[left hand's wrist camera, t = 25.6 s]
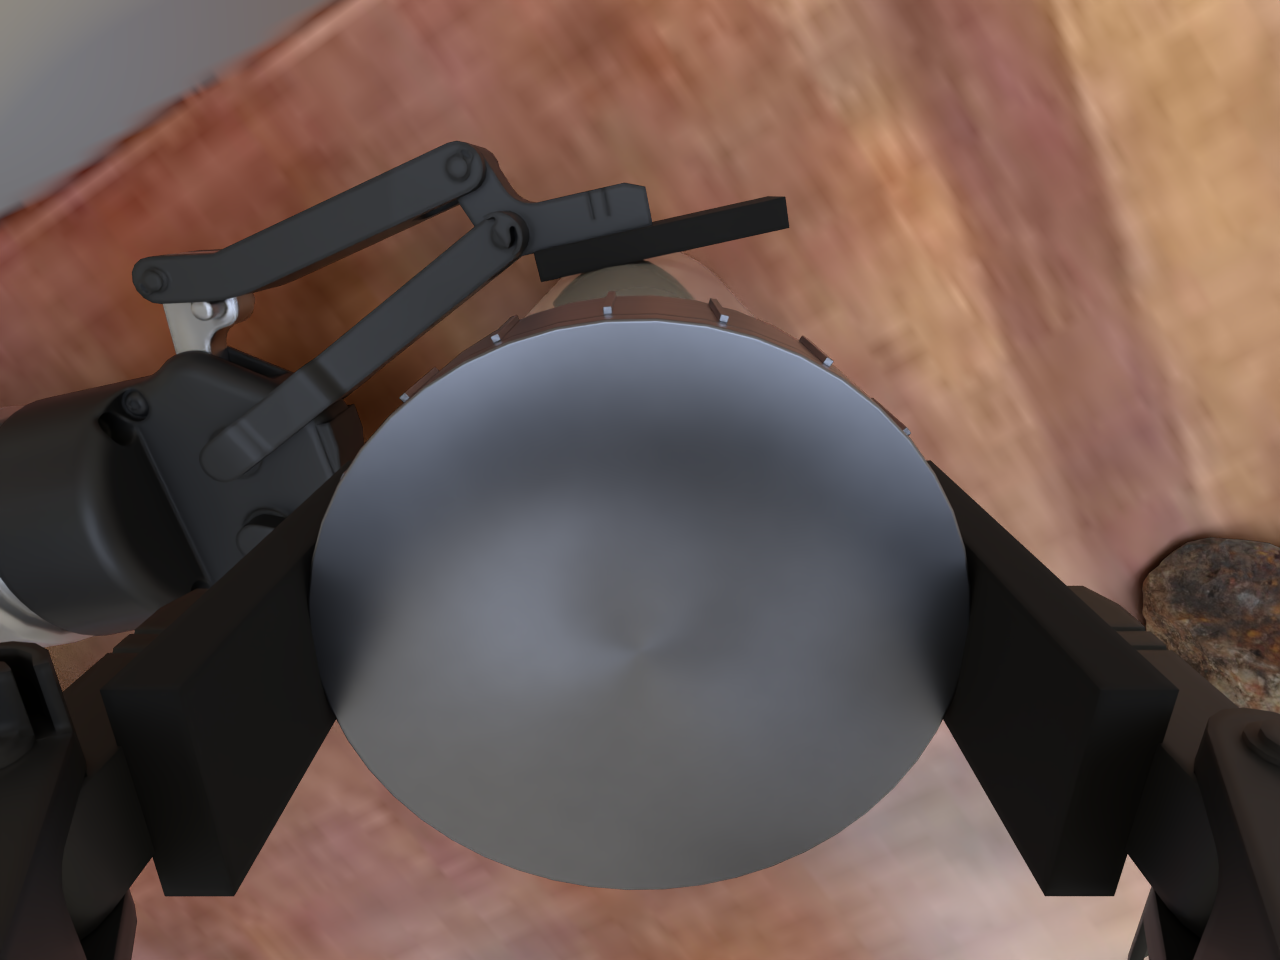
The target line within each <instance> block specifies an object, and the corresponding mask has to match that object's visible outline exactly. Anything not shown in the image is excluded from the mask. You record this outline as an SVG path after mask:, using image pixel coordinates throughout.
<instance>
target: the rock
mask: <svg viewBox="0 0 1280 960" xmlns="http://www.w3.org/2000/svg"><path fill="white" fill-rule="evenodd" d="M1142 591H1143V611H1142V613H1143V616H1144V618H1145V619H1146V631H1150V632H1152V633H1153V634H1154V635H1155V636H1156V637H1157V638H1159V639H1160V640H1161V641H1162V642H1163V643H1164V644H1166V645H1167V647H1166V648H1167V650H1173V651H1174V652H1175V653H1176V654H1177V655H1178V656H1180V657H1181V658H1182V659H1183V660H1184V661H1185V662H1187V663H1188V664H1189V665H1190V666H1191V667H1192V668H1194V669H1195V670H1196V671H1197V672H1198V673H1199V674H1201V675H1202V676H1203V677H1204V678H1205V679H1206V680H1208V681H1209V682H1210V683H1211V684H1212V685H1213V686H1215V687H1216V688H1217V689H1218V690H1219V691H1220V692H1221V693H1223V694H1224V695H1225V696H1226V697H1227V698H1228V699H1230V700H1231V701H1232V702H1233V703H1234V704H1235V705H1237V706H1238V707H1239V708H1243V707H1244V708H1251V709H1258V710H1265V711H1272V712H1275V713H1279V714H1280V548H1279V547H1277V546H1274V545H1272V544H1270V543H1264V542H1257V541H1249V540H1238V539H1224V538H1212V537H1210V538H1205V539H1200V540H1195V541H1191V542H1187V543H1185V544H1184V545H1182V546H1181V547H1179V548H1178V549H1176V550H1175V551H1173V552H1172V553H1171V554H1170V555H1168V556H1167V557H1166V558H1165V559H1164V560H1163V561H1162V562H1161V563H1160V565H1159V566H1158V567H1156V568H1155V569H1154V570H1153V571H1151V572H1150V573H1149V574H1148V576H1147V577H1146V579H1145V580H1144V582H1143V588H1142Z"/></svg>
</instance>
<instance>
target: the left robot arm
mask: <svg viewBox="0 0 1280 960" xmlns="http://www.w3.org/2000/svg"><path fill="white" fill-rule="evenodd" d="M351 463H352V461H348V462H346V463H345V464H344V465H343V466H342V467H341V468H340V469H339V470H338V471H337V472H336V473H335V474H333V475H332V476H331V477H330V478H329V479H328V480H327V481H326V482H325V483H324V484H323V485H321V486H320V487H319V488H318V489H317V490H316V491H315V492H314V493H313V494H312V495H311V496H310V497H308V498H307V499H306V500H305V501H304V502H303V503H302V504H301V505H300V506H299V507H298V508H296V509H295V510H294V511H293V512H292V513H291V514H290V515H289V516H288V517H287V518H286V519H285V520H283V521H282V522H281V523H280V524H279V525H278V526H277V527H276V528H275V529H274V530H273V531H271V532H270V533H269V534H268V535H267V536H266V537H265V538H264V539H263V540H262V541H261V542H260V543H258V544H257V545H256V546H255V547H254V548H253V549H252V550H251V551H250V552H249V553H248V554H247V555H245V556H244V557H243V558H242V559H241V560H240V561H239V562H238V563H237V564H236V565H235V566H233V567H232V568H231V569H230V570H229V571H228V572H227V573H226V574H225V575H224V576H223V577H222V578H220V579H219V580H218V581H217V582H216V583H215V584H214V585H213V586H212V587H211V588H210V589H195V590H193V591H191V592H189V593H187V594H185V595H183V596H182V597H180V598H178V599H176V600H174V601H172V602H170V603H168V604H166V605H164V606H162V607H160V608H159V609H158V610H157V611H156V612H155V613H153V614H152V615H151V616H150V617H149V618H148V619H147V620H145V621H144V622H143V623H142V624H141V625H140V626H138V627H137V628H136V629H135V633H134V634H129V635H128V636H127V637H126V638H125V639H123V640H122V641H121V642H120V643H119V644H118V645H116V646H115V647H114V648H113V653H107V654H106V655H105V656H104V657H103V658H101V659H100V660H99V661H98V662H97V663H96V664H95V665H93V666H92V667H91V668H90V669H89V670H88V671H86V672H85V673H84V674H83V675H82V676H81V677H80V678H78V679H77V680H76V681H75V682H74V683H73V684H71V685H70V686H69V687H68V688H67V689H66V690H65V691H63V692H62V690H61V687H60V684H59V681H58V678H57V675H56V672H55V669H54V666H53V663H52V660H51V657H50V654H49V651H48V650H47V649H45V648H43V647H42V646H40V645H38V644H36V643H31V642H18V641H9V642H1V643H0V960H131V958H132V951H133V945H134V938H135V931H136V925H137V917H136V911H135V904H134V901H133V899H132V896H131V893H130V890H129V888H130V886H131V885H132V884H133V882H134V881H135V880H136V878H137V877H138V876H139V874H140V873H141V871H142V870H143V869H144V867H145V866H146V865H147V863H148V862H149V861H150V859H151V858H152V857H153V860H154V863H155V866H156V870H157V873H158V876H159V879H160V882H161V885H162V888H163V892H164V895H165V896H234V895H235V894H236V892H237V890H238V889H239V887H240V885H241V883H242V882H243V880H244V878H245V876H246V875H247V873H248V871H249V869H250V868H251V866H252V864H253V862H254V861H255V859H256V857H257V856H258V854H259V852H260V850H261V849H262V847H263V845H264V843H265V842H266V840H267V838H268V836H269V835H270V833H271V831H272V829H273V828H274V826H275V824H276V823H277V821H278V819H279V817H280V816H281V814H282V812H283V810H284V809H285V807H286V805H287V803H288V802H289V800H290V798H291V797H292V795H293V793H294V791H295V790H296V788H297V786H298V784H299V783H300V781H301V779H302V777H303V776H304V774H305V772H306V770H307V769H308V767H309V765H310V764H311V762H312V760H313V758H314V757H315V755H316V753H317V751H318V750H319V748H320V746H321V744H322V743H323V741H324V739H325V737H326V736H327V734H328V732H329V731H330V729H331V727H332V725H333V724H334V722H335V720H336V717H335V716H334V714H333V712H332V710H331V708H330V705H329V703H328V700H327V697H326V695H325V692H324V689H323V686H322V682H321V678H320V673H319V668H318V662H317V657H316V652H315V646H314V641H313V636H312V630H311V624H310V618H309V610H308V592H309V582H310V572H311V561H312V557H313V553H314V549H315V545H316V541H317V537H318V534H319V530H320V526H321V522H322V520H323V517H324V515H325V513H326V511H327V508H328V506H329V504H330V501H331V499H332V497H333V494H334V492H335V490H336V487H337V485H338V483H339V482H340V478H341V476H342V474H343V473H344V472H345V471H346V470H347V469H348V468H349V466H350V464H351ZM927 463H928V464H929V465H930V467H931V468H932V470H933V471H934V473H935V474H936V476H937V478H938V480H939V482H940V484H941V486H942V488H943V491H944V493H945V495H946V497H947V499H948V501H949V503H950V505H951V507H952V509H953V511H954V514H955V517H956V521H957V524H958V527H959V530H960V534H961V537H962V540H963V543H964V546H965V551H966V558H967V565H968V571H969V578H970V585H971V610H970V619H969V626H968V631H967V636H966V642H965V647H964V653H963V658H962V663H961V669H960V674H959V678H958V683H957V687H956V690H955V693H954V697H953V699H952V701H951V703H950V705H949V707H948V709H947V711H946V713H945V716H944V718H943V720H944V721H945V723H946V725H947V727H948V728H949V730H950V732H951V734H952V735H953V737H954V739H955V741H956V742H957V744H958V746H959V748H960V749H961V751H962V753H963V754H964V756H965V758H966V760H967V761H968V763H969V765H970V767H971V768H972V770H973V772H974V774H975V775H976V777H977V779H978V781H979V782H980V784H981V786H982V787H983V789H984V791H985V793H986V794H987V796H988V798H989V800H990V801H991V803H992V805H993V807H994V808H995V810H996V812H997V814H998V815H999V817H1000V819H1001V820H1002V822H1003V824H1004V826H1005V827H1006V829H1007V831H1008V833H1009V834H1010V836H1011V838H1012V840H1013V841H1014V843H1015V845H1016V847H1017V848H1018V850H1019V852H1020V853H1021V855H1022V857H1023V859H1024V860H1025V862H1026V864H1027V866H1028V867H1029V869H1030V871H1031V873H1032V874H1033V876H1034V878H1035V880H1036V881H1037V883H1038V885H1039V886H1040V888H1041V890H1042V892H1043V893H1044V895H1045V896H1114V895H1115V892H1116V889H1117V885H1118V882H1119V879H1120V876H1121V873H1122V870H1123V866H1124V863H1125V860H1126V857H1127V854H1128V855H1129V856H1130V858H1131V859H1132V860H1133V862H1134V863H1135V864H1136V866H1137V867H1138V868H1139V870H1140V871H1141V872H1142V874H1143V875H1144V877H1145V878H1146V879H1147V881H1148V882H1149V883H1150V885H1151V886H1152V887H1151V890H1150V893H1149V896H1148V898H1147V901H1146V904H1145V907H1144V910H1143V913H1142V916H1141V919H1140V922H1139V925H1138V928H1137V931H1136V934H1135V937H1134V940H1133V943H1132V946H1131V949H1130V951H1129V955H1128V960H1144V958H1145V957H1147V956H1149V960H1280V714H1279V713H1275V712H1272V711H1265V710H1258V709H1251V708H1244V707H1243V708H1239V707H1238V706H1237V705H1235V704H1234V703H1233V702H1232V701H1231V700H1230V699H1228V698H1227V697H1226V696H1225V695H1224V694H1223V693H1221V692H1220V691H1219V690H1218V689H1217V688H1216V687H1215V686H1213V685H1212V684H1211V683H1210V682H1209V681H1208V680H1206V679H1205V678H1204V677H1203V676H1202V675H1201V674H1199V673H1198V672H1197V671H1196V670H1195V669H1194V668H1192V667H1191V666H1190V665H1189V664H1188V663H1187V662H1185V661H1184V660H1183V659H1182V658H1181V657H1180V656H1178V655H1177V654H1176V653H1175V652H1174V651H1173V650H1167V648H1166V647H1167V645H1166V644H1164V643H1163V642H1162V641H1161V640H1160V639H1159V638H1157V637H1156V636H1155V635H1154V634H1153V633H1152V632H1150V631H1145V626H1144V625H1142V624H1141V623H1140V622H1139V621H1138V620H1137V619H1135V618H1134V617H1133V616H1132V615H1131V614H1130V613H1128V612H1127V611H1126V610H1125V609H1124V608H1123V607H1121V606H1120V605H1119V604H1117V603H1115V602H1113V601H1111V600H1109V599H1107V598H1105V597H1103V596H1101V595H1100V594H1098V593H1096V592H1094V591H1092V590H1090V589H1088V588H1086V587H1084V586H1066V585H1065V584H1064V583H1063V582H1062V581H1061V580H1060V579H1059V578H1058V577H1057V576H1055V575H1054V574H1053V573H1052V572H1051V571H1050V570H1049V569H1048V568H1047V567H1046V566H1045V565H1043V564H1042V563H1041V562H1040V561H1039V560H1038V559H1037V558H1036V557H1035V556H1034V555H1033V554H1032V553H1030V552H1029V551H1028V550H1027V549H1026V548H1025V547H1024V546H1023V545H1022V544H1021V543H1020V542H1019V541H1017V540H1016V539H1015V538H1014V537H1013V536H1012V535H1011V534H1010V533H1009V532H1008V531H1007V530H1005V529H1004V528H1003V527H1002V526H1001V525H1000V524H999V523H998V522H997V521H996V520H995V519H994V518H992V517H991V516H990V515H989V514H988V513H987V512H986V511H985V510H984V509H983V508H982V507H981V506H979V505H978V504H977V503H976V502H975V501H974V500H973V499H972V498H971V497H970V496H969V495H967V494H966V493H965V492H964V491H963V490H962V489H961V488H960V487H959V486H958V485H957V484H956V483H954V482H953V481H952V480H951V479H950V478H949V477H948V476H947V475H946V474H945V473H944V472H943V471H941V470H940V469H939V468H938V467H937V466H936V465H935V464H934V463H933V462H932V461H927Z"/></svg>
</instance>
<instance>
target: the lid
mask: <svg viewBox="0 0 1280 960" xmlns="http://www.w3.org/2000/svg"><path fill="white" fill-rule="evenodd" d="M832 363H833V360H832V359H831V358H830V357H828V356H827V355H826V354H825V353H824V352H823V351H821V350H820V349H819V348H818V347H817V346H816V345H815V344H813V343H812V342H811V341H810V340H809V339H807V338H806V337H804V336H802V337H801V338H800V340H798V339H796V338H794V337H792V336H791V335H789V334H787V333H785V332H784V331H782V330H780V329H778V328H777V327H775V326H773V325H771V324H768V323H766V322H763V321H761V320H758V319H756V318H753V317H751V316H749V315H746V314H744V313H741V312H739V311H736V310H733V309H729V308H725V307H722V306H721V304H720V303H719V302H718V300H717V299H713V298H710V300H709V303H705V302H701V301H697V300H690V299H681V298H673V297H664V296H655V295H648V296H616V292H615V291H608V293H607V296H606V297H604V298H598V299H591V300H585V301H579V302H572V303H568V304H565V305H562V306H558V307H555V308H552V309H548V310H545V311H542V312H538V313H535V314H532V315H529V316H527V317H525V318H523V319H521V320H519V318H518V316H517V315H515V316H513V317H510V318H509V319H508V320H507V321H506V322H505V323H504V324H503V325H502V326H501V327H500V328H499V329H498V330H496V331H494V332H493V333H491V334H490V335H488V336H487V337H485V338H483V339H482V340H480V341H479V342H477V343H476V344H474V345H472V346H471V347H469V348H468V349H466V350H465V351H463V352H461V353H460V354H459V355H458V356H457V357H456V358H454V359H453V360H452V361H451V362H450V363H449V364H447V365H446V366H445V367H444V368H443V369H442V370H440V371H439V370H438V369H437V368H436V367H434V368H433V369H432V370H431V371H429V372H428V373H427V374H426V375H425V376H424V377H422V378H421V379H420V380H419V381H418V382H416V383H415V384H414V385H413V386H412V387H411V388H409V389H408V390H407V391H406V392H405V393H404V394H402V395H401V396H400V397H399V398H400V399H401V400H402V401H403V402H404V403H403V404H402V405H401V406H400V407H398V408H397V409H396V410H395V411H394V412H393V413H392V414H391V415H389V417H388V418H387V419H386V420H385V421H384V422H383V423H382V425H381V426H380V427H379V428H378V429H377V430H376V431H375V433H374V434H373V435H372V436H371V437H370V438H369V440H368V441H367V442H366V443H365V444H364V445H363V446H362V448H361V449H360V450H359V452H358V453H357V455H356V457H355V458H354V460H353V461H352V463H351V464H350V466H349V468H348V469H347V470H346V471H345V472H344V473H343V474H342V476H341V478H340V482H339V483H338V485H337V487H336V490H335V492H334V494H333V497H332V499H331V501H330V504H329V506H328V508H327V511H326V513H325V515H324V517H323V520H322V522H321V526H320V530H319V534H318V537H317V541H316V545H315V549H314V553H313V557H312V561H311V572H310V582H309V592H308V610H309V618H310V624H311V630H312V636H313V641H314V646H315V652H316V657H317V662H318V668H319V673H320V678H321V682H322V686H323V689H324V692H325V695H326V697H327V700H328V703H329V705H330V708H331V710H332V712H333V714H334V716H335V717H336V719H337V721H338V723H339V725H340V727H341V729H342V730H343V732H344V734H345V736H346V738H347V740H348V741H349V743H350V744H351V745H352V747H353V748H354V750H355V751H356V752H357V754H358V755H359V756H360V758H361V759H362V761H363V762H364V763H365V765H366V766H367V768H368V769H369V770H370V771H371V772H372V773H373V774H374V775H375V777H376V778H377V779H378V780H379V781H380V782H381V783H382V784H383V785H384V786H385V787H386V788H387V789H388V791H389V792H390V793H391V794H392V795H393V796H394V797H395V798H397V799H398V800H399V801H400V802H401V803H402V804H404V805H405V806H406V807H407V808H408V809H410V810H411V811H412V812H413V813H414V814H415V815H417V816H418V817H419V818H420V819H421V820H423V821H424V822H426V823H427V824H429V825H430V826H432V827H433V828H435V829H436V830H438V831H439V832H441V833H442V834H444V835H445V836H447V837H448V838H450V839H451V840H453V841H455V842H457V843H459V844H461V845H463V846H465V847H467V848H468V849H470V850H472V851H474V852H476V853H478V854H480V855H482V856H484V857H486V858H489V859H491V860H494V861H496V862H499V863H501V864H504V865H506V866H509V867H511V868H514V869H517V870H519V871H523V872H526V873H530V874H533V875H537V876H540V877H544V878H548V879H551V880H555V881H561V882H566V883H572V884H577V885H583V886H588V887H599V888H611V889H623V890H646V889H670V888H679V887H688V886H697V885H704V884H708V883H713V882H718V881H722V880H727V879H732V878H737V877H740V876H743V875H746V874H749V873H752V872H756V871H759V870H762V869H765V868H768V867H771V866H774V865H776V864H778V863H781V862H783V861H785V860H788V859H790V858H792V857H795V856H797V855H799V854H801V853H804V852H806V851H808V850H809V849H811V848H813V847H815V846H817V845H818V844H820V843H822V842H824V841H825V840H827V839H829V838H831V837H832V836H834V835H836V834H838V833H839V832H840V831H842V830H843V829H845V828H846V827H847V826H849V825H850V824H852V823H853V822H854V821H856V820H857V819H858V818H860V817H861V816H863V815H864V814H865V813H867V812H868V811H869V810H870V809H871V808H872V807H873V806H875V805H876V804H877V803H878V802H879V801H880V800H881V799H882V798H883V797H884V796H885V795H887V794H888V793H889V792H890V791H891V790H892V789H893V788H894V787H895V786H896V785H897V784H898V782H899V781H900V780H901V779H902V778H903V777H904V775H905V774H906V773H907V772H908V771H909V770H910V769H911V767H912V766H913V765H914V764H915V763H916V762H917V760H918V759H919V757H920V756H921V754H922V753H923V751H924V750H925V748H926V747H927V745H928V744H929V742H930V741H931V739H932V738H933V736H934V735H935V733H936V732H937V730H938V728H939V726H940V724H941V722H942V720H943V718H944V716H945V713H946V711H947V709H948V707H949V705H950V703H951V701H952V699H953V697H954V693H955V690H956V687H957V683H958V678H959V674H960V669H961V663H962V658H963V653H964V647H965V642H966V636H967V631H968V626H969V619H970V610H971V585H970V578H969V571H968V565H967V558H966V551H965V546H964V543H963V540H962V537H961V534H960V530H959V527H958V524H957V521H956V517H955V514H954V511H953V509H952V507H951V505H950V503H949V501H948V499H947V497H946V495H945V493H944V491H943V488H942V486H941V484H940V482H939V480H938V478H937V476H936V474H935V473H934V471H933V470H932V468H931V467H930V465H929V464H928V463H927V461H926V460H925V458H924V457H923V455H922V454H921V453H920V451H919V450H918V448H917V447H916V445H915V444H914V443H913V441H912V440H911V438H910V437H909V436H908V435H910V434H911V432H910V431H909V429H908V428H907V427H906V426H905V425H904V424H902V423H901V422H900V421H899V420H898V419H897V418H896V417H894V416H893V415H892V414H891V413H890V412H889V411H888V410H886V409H885V408H884V407H883V406H882V405H881V404H880V403H878V402H877V401H876V400H875V399H874V398H872V399H871V398H870V397H869V396H868V395H867V394H866V393H864V392H863V391H862V390H861V389H860V388H859V387H858V386H857V385H855V384H854V383H853V382H852V381H851V380H850V379H849V378H847V377H846V376H845V375H844V374H843V373H842V372H841V371H840V370H838V369H837V368H836V367H835V366H833V365H832Z"/></svg>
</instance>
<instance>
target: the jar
mask: <svg viewBox="0 0 1280 960" xmlns="http://www.w3.org/2000/svg"><path fill="white" fill-rule="evenodd" d="M608 291H615V292H616V296H648V295H655V296H664V297H673V298H681V299H690V300H697V301H701V302H705V303H709V300H710V298H713V299H717V300H718V302H719V303H720V304H721V306H722V307H725V308H729V309H733V310H736V311H739V312H741V313H744V314H746V315H749V316H751V317H753V318H755V317H754V316H753V315H752V313H751V312H750V311H749V310H748V309H747V308H746V307H745V306H744V305H743V304H742V303H741V302H740V301H739V299H738V298H737V297H736V296H735V295H734V294H733V293H732V292H731V291H730V290H729V289H728V288H727V287H726V286H725V284H724V283H723V282H722V281H721V280H720V279H719V278H718V277H717V276H716V275H715V274H714V273H713V272H712V271H710V270H709V269H708V268H707V267H705V266H704V265H703V264H701V263H700V262H698V261H696V260H695V259H693V258H691V257H690V256H687V255H685V254H683V253H680V252H676V253H672V254H667V255H663V256H658V257H653V258H649V259H644V260H640V261H635V262H631V263H626V264H621V265H617V266H612V267H607V268H603V269H599V270H594V271H589V272H585V273H580V274H576V275H571V276H567V277H562V278H561V279H560V280H559V281H558V282H557V283H556V284H555V285H554V286H553V287H552V288H551V289H550V290H549V292H548V293H547V294H546V295H545V296H544V297H543V298H542V299H541V300H540V301H539V302H538V303H537V304H536V305H535V307H534V308H533V309H532V310H531V311H530V312H529V313H528V314H527V315H526V316H525V317H527V316H529V315H532V314H535V313H538V312H542V311H545V310H548V309H552V308H555V307H558V306H562V305H565V304H568V303H572V302H579V301H585V300H591V299H598V298H604V297H606V296H607V293H608ZM525 317H524V318H525Z"/></svg>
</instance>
